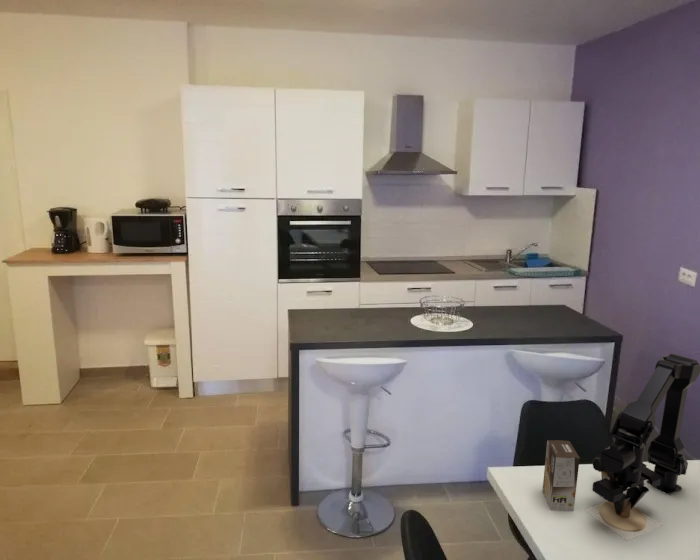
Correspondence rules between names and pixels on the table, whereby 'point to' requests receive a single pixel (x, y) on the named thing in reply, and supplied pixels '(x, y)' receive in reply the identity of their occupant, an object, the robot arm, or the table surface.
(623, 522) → the lid
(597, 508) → the mat
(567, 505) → the coffee box
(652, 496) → the table surface
